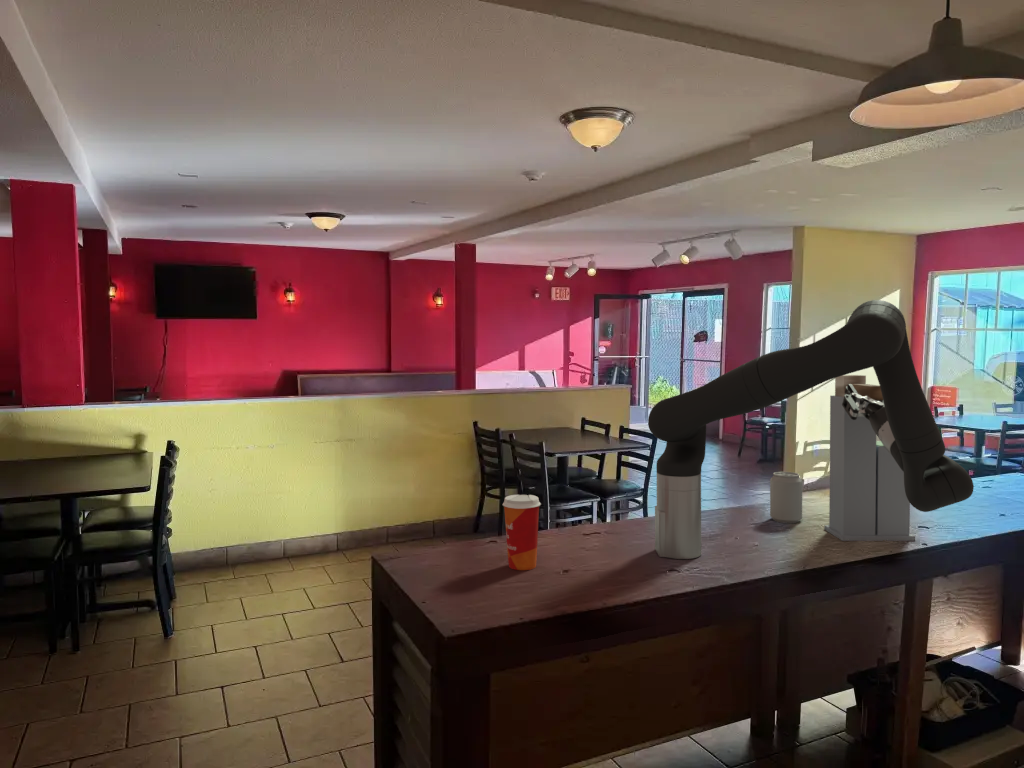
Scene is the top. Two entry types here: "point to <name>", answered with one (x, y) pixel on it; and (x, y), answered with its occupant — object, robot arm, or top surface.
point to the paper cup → (522, 530)
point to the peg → (857, 386)
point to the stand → (864, 483)
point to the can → (786, 497)
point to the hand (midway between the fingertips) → (867, 387)
